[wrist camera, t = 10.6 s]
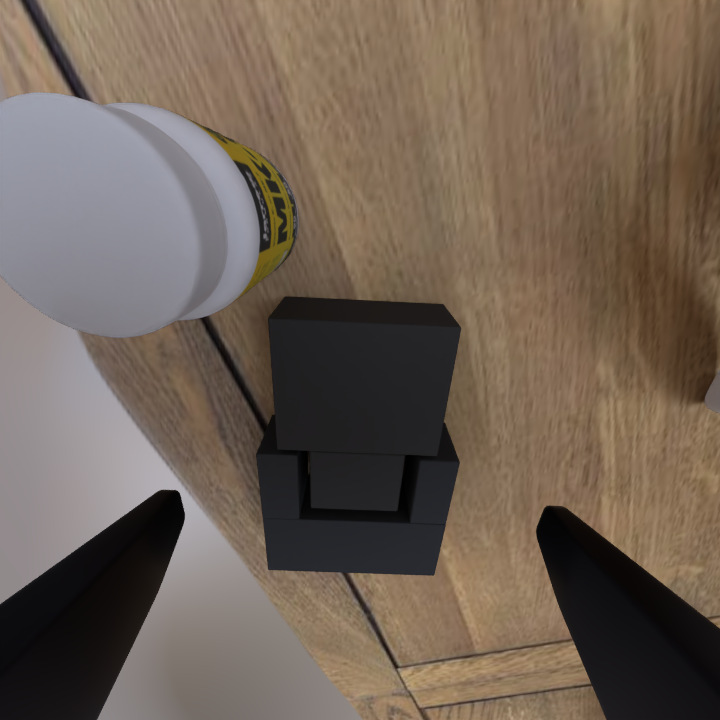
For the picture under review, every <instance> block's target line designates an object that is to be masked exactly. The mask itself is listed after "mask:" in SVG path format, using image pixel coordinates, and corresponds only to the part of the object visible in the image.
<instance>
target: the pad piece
mask: <svg viewBox="0 0 720 720" xmlns="http://www.w3.org/2000/svg"><path fill="white" fill-rule="evenodd" d="M268 324H269V338H270V353H271V367H272V381H273V395H274V409H275V424H276V438H277V449H278V450H302V451H310V499H311V508H326V509H353V510H379V511H397V510H398V504H399V497H400V489H401V482H402V475H403V467H404V460H405V455H424V456H437V454H438V449H439V443H440V438H441V433H442V427H443V422H444V417H445V412H446V406H447V401H448V396H449V390H450V385H451V380H452V374H453V369H454V364H455V358H456V353H457V348H458V343H459V337H460V332H461V327H460V325H459V324H458V323H457V322H456V320H455V319H454V318H453V316H452V315H451V314H450V312H449V311H448V310H447V309H446V307H445V306H444V305H443V304H425V303H405V302H385V301H364V300H344V299H324V298H303V297H284V299H283V300H282V301H281V303H280V304H279V305H278V306H277V308H276V309H275V310H274V312H273V313H272V314H271V316H270V317H269V318H268Z"/></svg>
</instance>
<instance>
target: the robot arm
mask: <svg viewBox="0 0 720 720" xmlns="http://www.w3.org/2000/svg"><path fill="white" fill-rule="evenodd" d="M184 520H185V512H184V508H183V504H182V500H181V496H180V493H179V492H178V491H176V490H160V491H158V492H156V493H155V494H154V495H152V496H151V497H149V498H148V499H147V500H145V501H144V502H142V503H141V504H140V505H138V506H137V507H135V508H134V509H133V510H131V511H130V512H129V513H127V514H126V515H124V516H123V517H122V518H120V519H119V520H117V521H116V522H114V523H113V524H112V525H110V526H109V527H108V528H106V529H105V530H103V531H102V532H100V533H99V534H98V535H96V536H95V537H94V538H92V539H91V540H89V541H88V542H87V543H85V544H84V545H82V546H81V547H80V548H78V549H77V550H75V551H74V552H73V553H71V554H70V555H68V556H67V557H66V558H64V559H63V560H61V561H60V562H59V563H57V564H56V565H55V566H53V567H52V568H50V569H49V570H47V571H46V572H45V573H43V574H42V575H41V576H39V577H38V578H36V579H35V580H33V581H32V582H31V583H29V584H28V585H26V586H25V587H24V588H22V589H21V590H19V591H18V592H17V593H15V594H14V595H13V596H11V597H10V598H8V599H7V600H5V601H4V602H3V603H1V604H0V720H97V719H98V716H99V714H100V712H101V710H102V708H103V706H104V704H105V702H106V700H107V698H108V696H109V694H110V691H111V689H112V687H113V685H114V683H115V681H116V679H117V677H118V675H119V673H120V671H121V669H122V667H123V665H124V662H125V660H126V658H127V656H128V654H129V652H130V650H131V648H132V646H133V644H134V642H135V639H136V637H137V635H138V633H139V631H140V629H141V627H142V625H143V623H144V621H145V619H146V617H147V615H148V612H149V610H150V608H151V606H152V604H153V602H154V600H155V598H156V595H157V593H158V591H159V588H160V586H161V583H162V581H163V578H164V576H165V572H166V570H167V567H168V565H169V562H170V559H171V557H172V554H173V551H174V548H175V546H176V543H177V540H178V538H179V535H180V532H181V530H182V527H183V524H184ZM536 535H537V540H538V543H539V546H540V549H541V552H542V555H543V559H544V562H545V565H546V568H547V571H548V574H549V577H550V581H551V584H552V587H553V590H554V593H555V596H556V599H557V602H558V605H559V607H560V610H561V612H562V615H563V617H564V620H565V622H566V624H567V627H568V629H569V632H570V634H571V636H572V639H573V641H574V643H575V646H576V648H577V651H578V653H579V655H580V658H581V660H582V662H583V665H584V667H585V669H586V672H587V674H588V677H589V679H590V681H591V684H592V686H593V688H594V691H595V693H596V696H597V698H598V700H599V703H600V705H601V707H602V710H603V712H604V715H605V717H606V719H607V720H720V628H718V627H717V626H716V625H714V624H713V623H712V622H711V621H709V620H708V619H707V618H706V617H704V616H703V615H702V614H700V613H699V612H698V611H697V610H695V609H694V608H693V607H692V606H690V605H689V604H688V603H686V602H685V601H684V600H683V599H681V598H680V597H679V596H678V595H676V594H675V593H674V592H672V591H671V590H670V589H669V588H667V587H666V586H665V585H664V584H662V583H661V582H660V581H658V580H657V579H656V578H655V577H653V576H652V575H651V574H650V573H648V572H647V571H646V570H644V569H643V568H642V567H641V566H639V565H638V564H637V563H636V562H634V561H633V560H632V559H630V558H629V557H628V556H627V555H625V554H624V553H623V552H622V551H620V550H619V549H618V548H616V547H615V546H614V545H613V544H611V543H610V542H609V541H608V540H606V539H605V538H604V537H602V536H601V535H600V534H599V533H597V532H596V531H595V530H594V529H592V528H591V527H590V526H588V525H587V524H586V523H585V522H583V521H582V520H581V519H580V518H578V517H577V516H576V515H574V514H573V513H572V512H571V511H569V510H568V509H567V508H565V507H562V506H546V507H545V508H544V510H543V513H542V515H541V518H540V520H539V523H538V525H537V529H536Z"/></svg>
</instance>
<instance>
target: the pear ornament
mask: <svg viewBox="0 0 720 720" xmlns="http://www.w3.org/2000/svg"><path fill="white" fill-rule="evenodd" d="M704 403H705V404H706V406H707V407H708V409H710V410H712V411H714V412H716V413H719V414H720V370H719V371H718V373H717V375H716V377H715V378H714V380H713V382H712V384H711V385H710V387H709V389H708V391H707V393H706V395H705V402H704Z"/></svg>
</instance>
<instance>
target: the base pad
mask: <svg viewBox="0 0 720 720" xmlns="http://www.w3.org/2000/svg"><path fill="white" fill-rule="evenodd" d="M256 457H257V466H258V476H259V486H260V495H261V505H262V514H263V523H264V533H265V542H266V552H267V562H268V570H287V571H316V572H345V573H374V574H403V575H432V576H433V575H434V574H435V569H436V565H437V561H438V556H439V552H440V548H441V543H442V539H443V534H444V530H445V526H446V520H447V516H448V512H449V507H450V503H451V498H452V494H453V490H454V485H455V481H456V476H457V472H458V468H459V463H460V462H459V459H458V456H457V454H456V451H455V448H454V446H453V443H452V440H451V438H450V435H449V432H448V430H447V427H446V424H445V423H443V427H442V433H441V438H440V443H439V449H438V454H437V456H424V455H406V462H405V469H404V477H403V479H402V482H401V489H400V497H399V504H398V510H397V511H379V510H353V509H326V508H311V499H310V475H308V451H302V450H278V449H277V438H276V424H275V415H272V417H271V419H270V422H269V424H268V427H267V429H266V432H265V434H264V436H263V439H262V441H261V444H260V446H259V449H258V451H257V454H256Z"/></svg>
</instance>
